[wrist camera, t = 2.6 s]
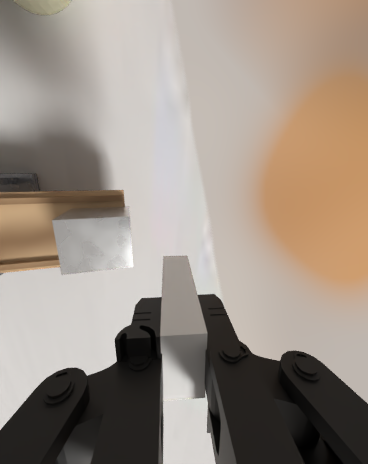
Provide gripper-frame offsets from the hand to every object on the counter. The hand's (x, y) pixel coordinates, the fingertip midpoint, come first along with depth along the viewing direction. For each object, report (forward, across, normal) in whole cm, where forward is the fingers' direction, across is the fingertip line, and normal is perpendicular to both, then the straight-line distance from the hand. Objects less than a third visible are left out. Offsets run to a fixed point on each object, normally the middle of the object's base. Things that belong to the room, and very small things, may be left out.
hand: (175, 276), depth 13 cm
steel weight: (+11, -8, 0) cm, 14 cm away
